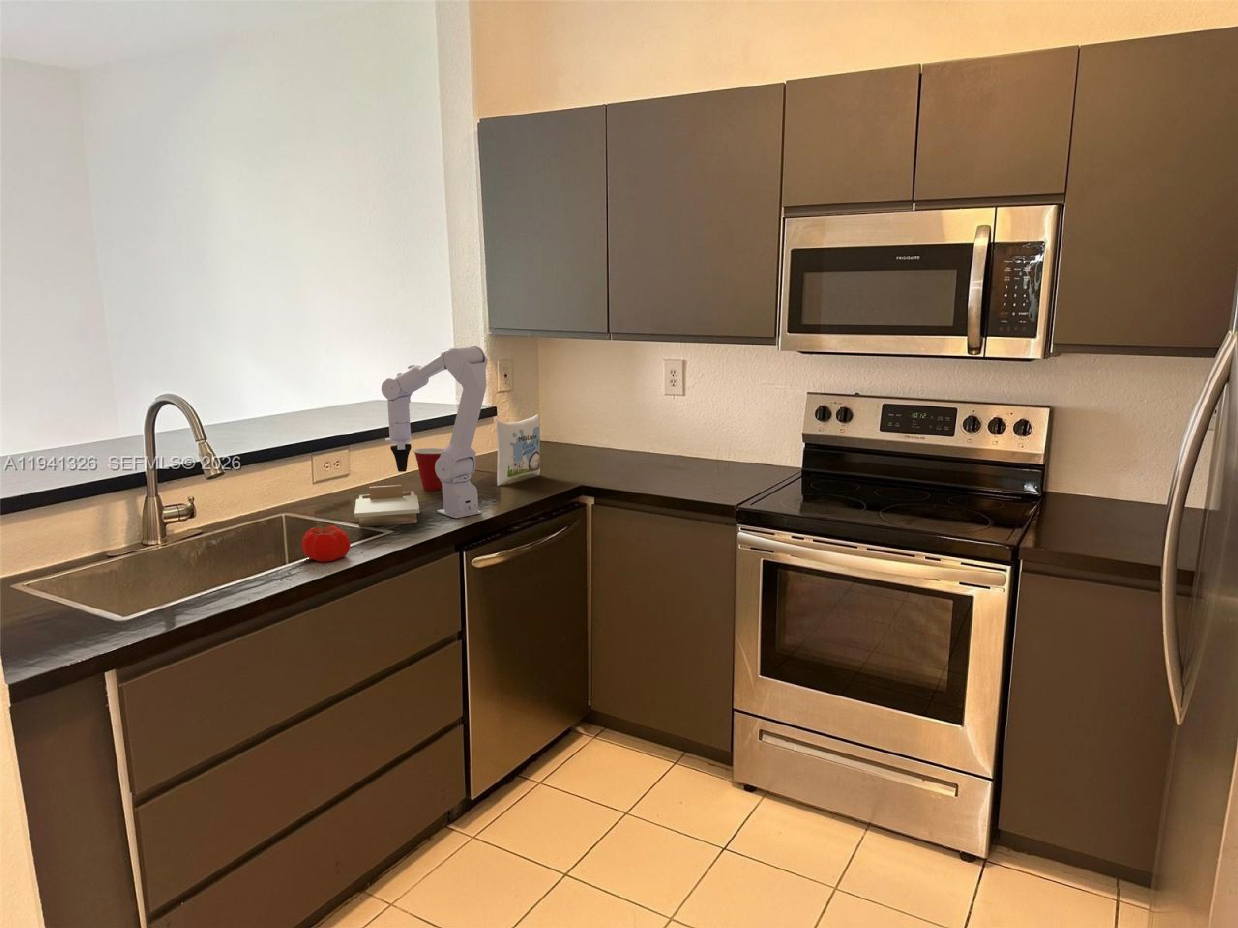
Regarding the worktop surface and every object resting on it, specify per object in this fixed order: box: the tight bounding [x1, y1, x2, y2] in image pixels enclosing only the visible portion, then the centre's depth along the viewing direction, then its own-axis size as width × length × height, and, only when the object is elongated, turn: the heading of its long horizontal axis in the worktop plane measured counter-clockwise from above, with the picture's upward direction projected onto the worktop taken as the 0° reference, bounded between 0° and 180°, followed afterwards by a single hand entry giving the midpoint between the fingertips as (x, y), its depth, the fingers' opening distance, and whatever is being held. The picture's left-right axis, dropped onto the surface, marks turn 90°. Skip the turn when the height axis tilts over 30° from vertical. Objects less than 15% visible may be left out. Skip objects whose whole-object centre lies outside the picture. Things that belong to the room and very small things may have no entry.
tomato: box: [301, 525, 351, 563], centre depth 190 cm, size 10×11×6 cm
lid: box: [353, 484, 420, 518], centre depth 212 cm, size 15×15×4 cm
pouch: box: [496, 413, 541, 487], centre depth 264 cm, size 8×19×20 cm, turn 141°
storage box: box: [358, 491, 418, 528], centre depth 223 cm, size 14×14×5 cm
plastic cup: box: [412, 447, 445, 492], centre depth 255 cm, size 11×11×12 cm
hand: (402, 471), depth 236 cm, fingers closed
